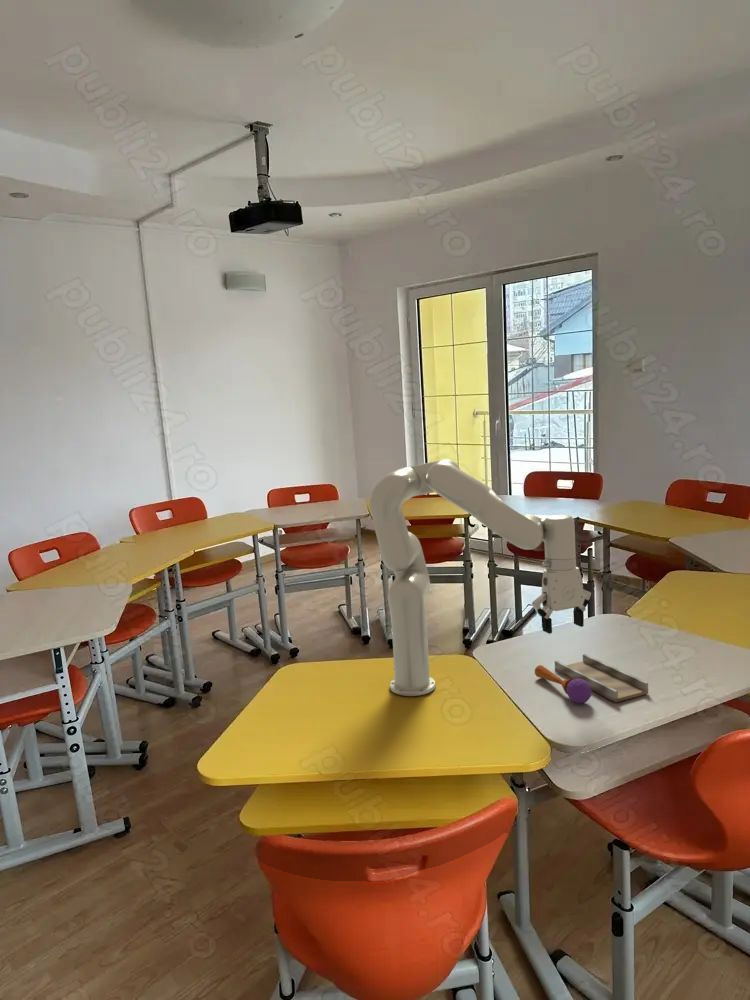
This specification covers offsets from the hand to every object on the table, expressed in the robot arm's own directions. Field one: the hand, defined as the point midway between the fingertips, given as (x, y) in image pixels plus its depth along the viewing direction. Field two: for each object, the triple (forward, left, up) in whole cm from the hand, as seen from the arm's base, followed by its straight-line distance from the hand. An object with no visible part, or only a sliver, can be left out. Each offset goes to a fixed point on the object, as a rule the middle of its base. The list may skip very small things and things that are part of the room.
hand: (563, 628), depth 172 cm
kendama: (-1, 0, -17) cm, 17 cm away
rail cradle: (-1, +12, -17) cm, 21 cm away
